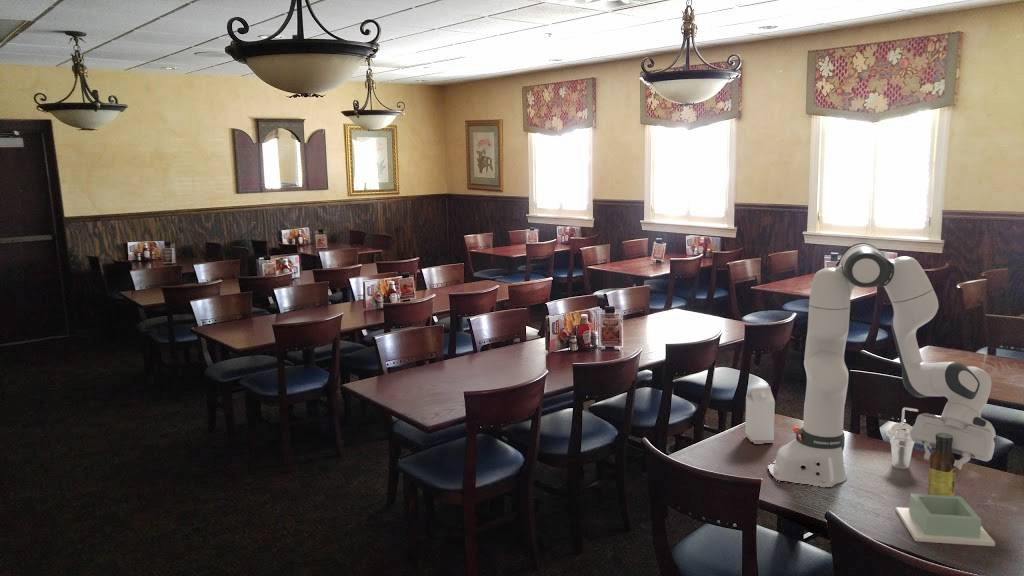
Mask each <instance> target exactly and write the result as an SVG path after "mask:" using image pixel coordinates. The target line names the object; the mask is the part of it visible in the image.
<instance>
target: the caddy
mask: <svg viewBox="0 0 1024 576" xmlns="http://www.w3.org/2000/svg"><path fill="white" fill-rule="evenodd" d="M908 503H909V504H908V505H909V506H908V507H897V506H896V507H895V511H896V514H897V515H898V516H899V518H900V520H901V521H902V523H903V524H904V526H905V528H906V529H907V530H908V532H909V534H910V535H911V537H912V538H913V540H914V542H923V543H936V544H937V543H938V544H939V543H941V544H953V545H968V546H985V547H996V542H995V540H994V539H993V538H992V537H991V536H990V535H989V533H988V532H987V531H986V530H985V529H984V527H983V526H982V518H981V517H980V516H979V515H978V514H977V513H976V511H974V509H973V508H972V507H971V506H970V504H969V503H968V502H967V501H966V500H965V498H964V497H963V496H962V495H961V496H959V495H954V496H944V495H928V494H922V493H909V502H908Z"/></svg>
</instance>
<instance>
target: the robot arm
mask: <svg viewBox="0 0 1024 576" xmlns="http://www.w3.org/2000/svg"><path fill="white" fill-rule="evenodd" d="M812 278H813V280H812V284H811V287H810V292H809V298H808V299H809V301H808V317H807V318H808V319H807V333H806V337H805V339H806V340H805V350H804V357H803V358H804V360H803V365H804V369H805V370H804V371H805V373H806V385H805V386H806V388H805V398H804V404H803V406H804V407H803V426H802V427H801V428H800V427H799V426H798V425H793V427H792V432H793V433H794V434H795V439H793V440H791V441H790V442H788V443H786V444H785V445H782V446H781V447H779V448H778V449H777V452H776V456H775V459H774V460H775V461H774V462H773V463H775V464H770V465H768V464H767V470H768V469H769V471H770V473H771V474H772V475H773V476H774V477H775V478H777V479H780V480H785V481H792V482H798V483H803V484H809V485H808V486H810V485H813V486H812V487H818V486H820V488H825V487H831V488H833V486H835V485H838V484H842V483H844V482H845V481H846V480H847V479H848V476H847V472H846V471H847V470H846V469H845V468H846V467H845V462H844V449H845V442H846V440H845V438H846V436H845V432H844V418H845V416H844V415H845V405H846V399H847V393H848V386H849V385H848V384H849V377H850V376H849V374H850V373H849V370H848V367H847V365H846V362H845V351H846V345H847V339H848V335H849V331H850V330H849V329H850V328H849V327H850V315H851V314H850V312H851V296H852V292H853V290H854V288H855V287H858V288H863V289H864V288H881V287H883V288H884V290H885V291H886V293H887V295H888V298H889V300H890V303H891V305H892V310H893V316H892V318H891V319H890V320H891V321H890V326H891V327H890V328H891V332H892V336H893V337H892V338H893V340H894V345H895V349H896V352H897V356H898V360H899V364H900V366H901V367H900V368H901V374H902V375H901V377H902V384H903V386H904V388H905V389H906V391H907V392H908V393H909V394H910V395H911V396H914V397H915V398H918V399H919V398H920V399H921V398H931V397H945V398H946V399H947V402H946V404H945V406H944V408H943V411H942V413H941V415H936V414H931V413H929V412H924V413H920V414H918V415H917V416H916V418H915V423H914V424H913V426H912V429H911V431H910V437H911V438H912V440H913V441H914V442H915V443H916V444H921V445H923V448H924V451H925V452H924V455H923V459H924V460H925V461H929V462H930V458H931V455H932V454H933V453H932V452H930V451H931V450H932V449H935V447H936V434H937V433H947V434H950V435H952V436H953V441H952V448H951V449H952V453H953V454H957V455H960V456H962V457H961V458H960V459H959V460H956V459H954V460H955V463H954V465H953V466H954V468H956V470H962V467H963V465H965V464H967V462H969V461H970V460H971V458H972V459H976V460H980V461H983V462H989V461H991V460H992V458H993V455H994V452H995V446H996V442H995V440H994V439H995V438H996V430H995V427H994V426H993V424H992V423H991V422H990V421H989V420H986V419H984V418H983V417H982V410H983V409H984V408H985V407H986V405H987V402H988V400H989V397H990V394H991V390H992V378H991V375H990V374H989V373H988V372H986V370H984V369H982V368H980V367H977V366H972V365H971V366H967V365H965V364H964V363H962V362H961V361H960V362H959V361H938V362H927V361H925V360H924V359H923V358H922V355H921V352H920V347H919V345H918V340H917V330H918V329H919V328H921V327H922V326H924V325H925V324H927V323H929V322H930V321H931V320H932V319H934V317H935V316H936V314H937V313H938V310H939V300H938V296H937V294H936V292H935V290H934V287H933V286H932V283H931V281H930V279H929V277H928V275H927V273H926V271H925V270H924V269H923V267H922V265H920V263H919V262H918V260H916V258H914V257H912V256H898V257H894V258H886V257H885V256H884V255H883V254H882V252H881V251H880V250H879V249H878V248H877V247H875V246H874V245H873V244H870V243H866V242H859V243H855V244H853V245H851V246H849V247H847V249H846V250H845V251H844V252H843V254H842V255H841V257H840V258H839V260H838V261H837V262H836V264H835V267H825V268H822V269H820V270H818V271H816V273H814V276H813V277H812ZM775 474H776V475H775Z"/></svg>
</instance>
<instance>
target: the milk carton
mask: <svg viewBox="0 0 1024 576" xmlns="http://www.w3.org/2000/svg"><path fill="white" fill-rule="evenodd" d="M771 388H772V387H771V386H764V387H763V386H761V387H750V389H749V390H750V391H749V392H748V393H747V395H746V396H745V429H744V431H745V433H746V434H747V435H748V436H749V437H750V438H751V439H752V440H774V439H775V416H776V415H775V409H776V408H775V407H776V406H775V405H776V401H775V398H774V395H773V393H772V389H771ZM745 433H744V434H745ZM774 441H775V440H774Z"/></svg>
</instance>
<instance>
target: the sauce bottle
mask: <svg viewBox="0 0 1024 576" xmlns="http://www.w3.org/2000/svg"><path fill="white" fill-rule="evenodd" d="M952 441H953V436H952V435H950V434H947V433H937V434H936V447H935V448H934V449H935V450H934V452H932V453H931V454H932V455H931V458H930V461H929V467H928V469H929V470H928V484H927V485H928V488H927V495H944V496H955V486H956V484H955V483H956V471H957V469H956V468H954V466H953V465H954V463H955V460H956V459H955V457H954V453H953V452H952V449H951V448H952Z"/></svg>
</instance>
